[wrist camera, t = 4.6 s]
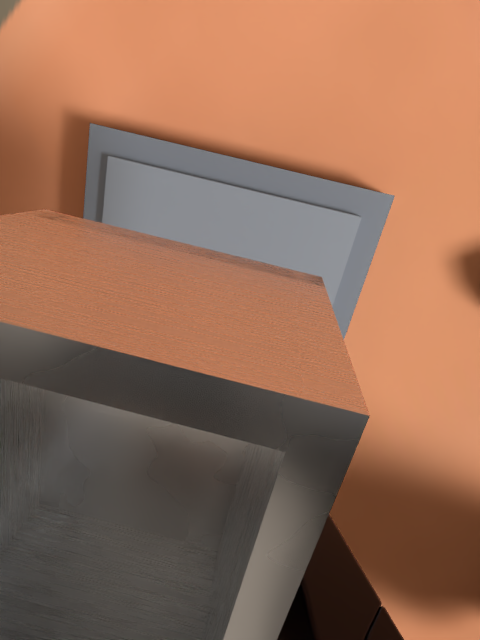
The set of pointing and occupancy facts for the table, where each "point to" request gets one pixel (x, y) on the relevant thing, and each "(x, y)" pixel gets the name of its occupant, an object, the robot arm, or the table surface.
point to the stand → (237, 209)
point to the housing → (161, 434)
